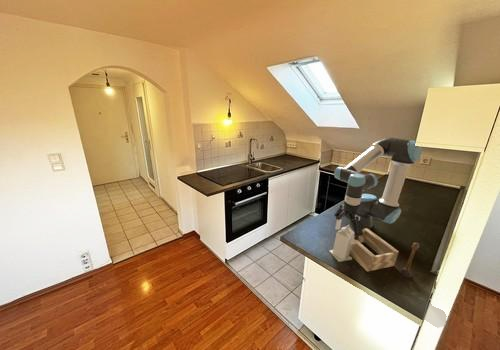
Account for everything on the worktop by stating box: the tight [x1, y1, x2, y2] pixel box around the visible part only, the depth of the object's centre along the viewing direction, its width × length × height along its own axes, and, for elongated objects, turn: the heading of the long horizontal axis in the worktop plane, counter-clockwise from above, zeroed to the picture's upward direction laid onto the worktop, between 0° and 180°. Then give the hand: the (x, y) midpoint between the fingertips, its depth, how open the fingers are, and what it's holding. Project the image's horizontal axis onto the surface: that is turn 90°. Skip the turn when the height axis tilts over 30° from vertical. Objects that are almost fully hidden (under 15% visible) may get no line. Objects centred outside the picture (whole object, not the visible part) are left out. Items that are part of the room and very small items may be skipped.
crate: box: [349, 228, 400, 272], centre depth 120 cm, size 18×22×10 cm
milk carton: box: [331, 224, 354, 260], centre depth 118 cm, size 7×7×19 cm
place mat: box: [328, 249, 353, 263], centre depth 121 cm, size 9×9×1 cm
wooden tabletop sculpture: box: [399, 242, 420, 279], centre depth 106 cm, size 6×5×20 cm
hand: (345, 235), depth 117 cm, fingers open, 13 cm apart
